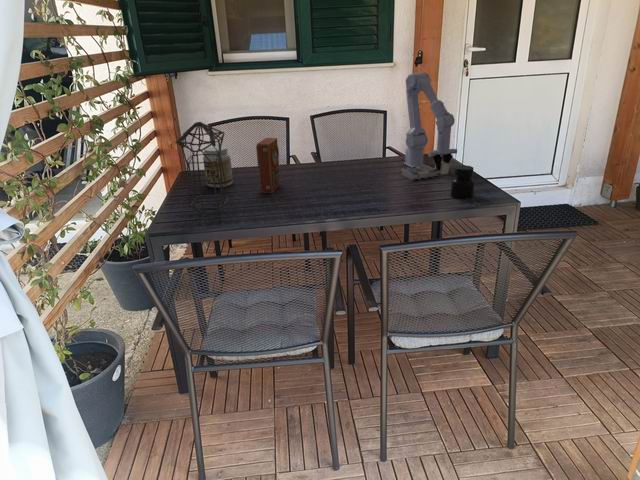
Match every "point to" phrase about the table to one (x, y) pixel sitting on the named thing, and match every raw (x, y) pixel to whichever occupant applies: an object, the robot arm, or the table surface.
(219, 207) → the geometric lantern
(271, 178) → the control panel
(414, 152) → the robot arm
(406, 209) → the table surface
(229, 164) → the supplement tub
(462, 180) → the ink bottle
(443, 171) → the beige rectangular block
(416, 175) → the rack
